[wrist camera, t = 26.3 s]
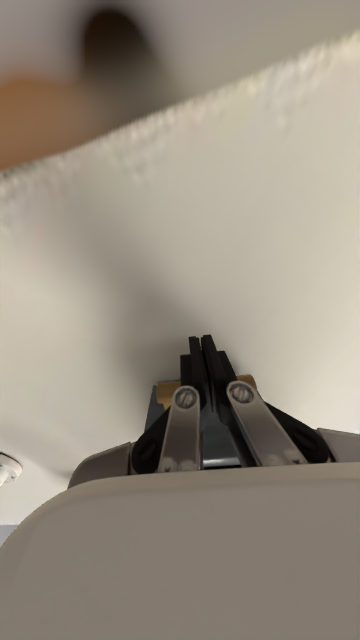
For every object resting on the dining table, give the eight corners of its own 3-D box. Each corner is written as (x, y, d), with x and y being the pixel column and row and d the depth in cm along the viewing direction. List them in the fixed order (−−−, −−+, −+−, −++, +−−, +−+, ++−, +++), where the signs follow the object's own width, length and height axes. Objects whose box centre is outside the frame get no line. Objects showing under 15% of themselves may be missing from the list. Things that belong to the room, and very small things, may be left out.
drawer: (142, 352, 14) (114, 428, 8) (254, 340, 13) (316, 412, 7) (170, 442, 22) (167, 514, 16) (241, 437, 21) (266, 509, 15)
